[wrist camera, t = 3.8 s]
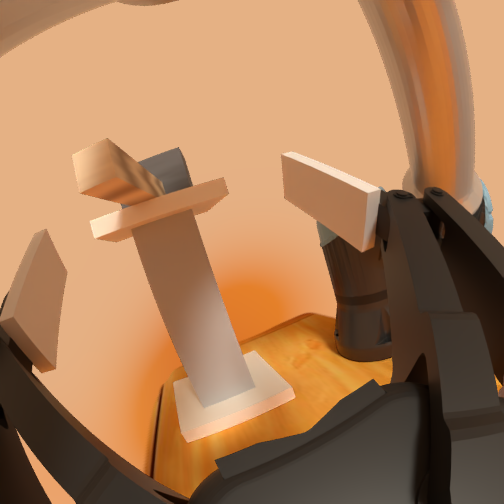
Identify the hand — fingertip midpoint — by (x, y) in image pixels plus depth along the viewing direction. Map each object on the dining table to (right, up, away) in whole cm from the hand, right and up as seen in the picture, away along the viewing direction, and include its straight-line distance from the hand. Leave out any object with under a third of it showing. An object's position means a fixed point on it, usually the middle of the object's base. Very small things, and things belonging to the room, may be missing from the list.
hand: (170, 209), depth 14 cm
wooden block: (-8, +3, +16) cm, 18 cm away
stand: (0, -25, +27) cm, 36 cm away
